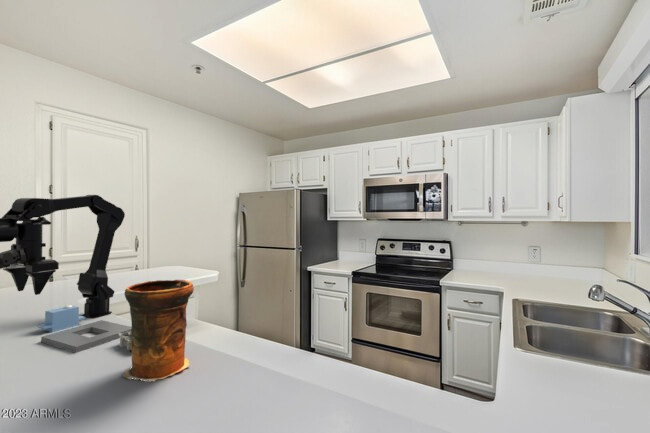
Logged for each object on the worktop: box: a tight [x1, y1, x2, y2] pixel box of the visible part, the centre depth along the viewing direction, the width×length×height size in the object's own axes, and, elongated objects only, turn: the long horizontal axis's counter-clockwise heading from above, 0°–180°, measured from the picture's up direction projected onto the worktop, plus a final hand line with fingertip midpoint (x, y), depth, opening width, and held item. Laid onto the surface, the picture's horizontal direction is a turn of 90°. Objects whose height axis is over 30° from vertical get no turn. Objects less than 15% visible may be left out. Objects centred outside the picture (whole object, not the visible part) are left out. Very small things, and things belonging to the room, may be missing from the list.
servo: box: [36, 304, 86, 333], centre depth 97 cm, size 4×11×7 cm, turn 158°
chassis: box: [40, 319, 132, 353], centre depth 90 cm, size 16×16×2 cm
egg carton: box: [118, 331, 131, 351], centre depth 85 cm, size 11×8×4 cm
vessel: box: [122, 279, 195, 383], centre depth 73 cm, size 14×14×20 cm
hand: (28, 292), depth 91 cm, fingers open, 9 cm apart
